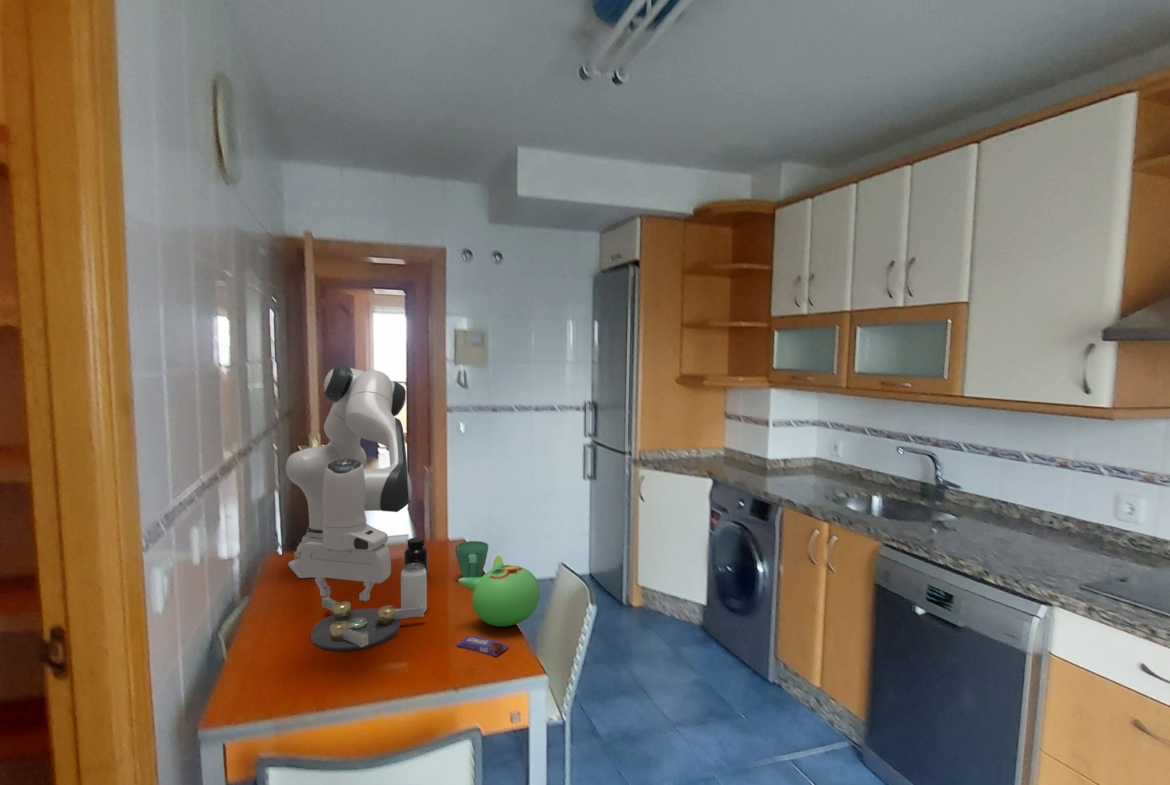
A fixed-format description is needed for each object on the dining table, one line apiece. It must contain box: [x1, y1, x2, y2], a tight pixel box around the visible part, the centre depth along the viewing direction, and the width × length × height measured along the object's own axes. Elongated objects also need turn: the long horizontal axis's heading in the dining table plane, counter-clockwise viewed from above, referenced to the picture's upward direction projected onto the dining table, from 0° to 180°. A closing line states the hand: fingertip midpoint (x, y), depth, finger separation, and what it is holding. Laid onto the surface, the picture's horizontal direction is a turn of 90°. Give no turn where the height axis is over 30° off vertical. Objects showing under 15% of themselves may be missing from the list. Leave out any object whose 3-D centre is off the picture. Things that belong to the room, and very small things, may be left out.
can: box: [400, 563, 428, 613], centre depth 161 cm, size 6×6×12 cm
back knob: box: [321, 595, 352, 620], centre depth 156 cm, size 11×4×3 cm, turn 49°
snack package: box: [455, 635, 509, 657], centre depth 142 cm, size 12×2×5 cm
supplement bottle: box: [403, 537, 429, 578], centre depth 184 cm, size 7×7×12 cm
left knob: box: [377, 605, 425, 624], centre depth 152 cm, size 11×4×3 cm, turn 109°
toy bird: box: [457, 555, 541, 627], centre depth 155 cm, size 18×17×15 cm
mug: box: [454, 540, 489, 578], centre depth 183 cm, size 15×10×10 cm
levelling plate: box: [310, 608, 401, 653], centre depth 149 cm, size 20×20×3 cm
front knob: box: [330, 621, 368, 647], centre depth 140 cm, size 11×4×3 cm, turn 58°
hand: (344, 597), depth 134 cm, fingers open, 8 cm apart
